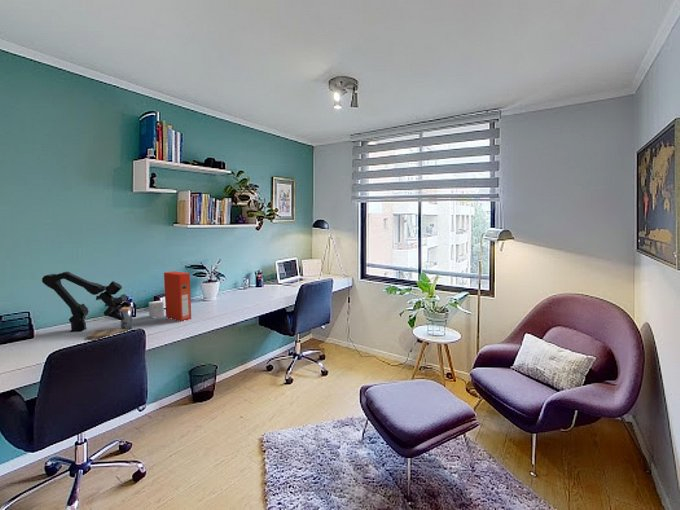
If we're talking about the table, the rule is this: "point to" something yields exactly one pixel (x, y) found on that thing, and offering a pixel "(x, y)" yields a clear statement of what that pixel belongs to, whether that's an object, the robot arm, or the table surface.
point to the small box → (156, 309)
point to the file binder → (177, 295)
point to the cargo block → (125, 309)
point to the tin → (126, 319)
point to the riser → (104, 333)
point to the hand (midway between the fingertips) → (127, 317)
